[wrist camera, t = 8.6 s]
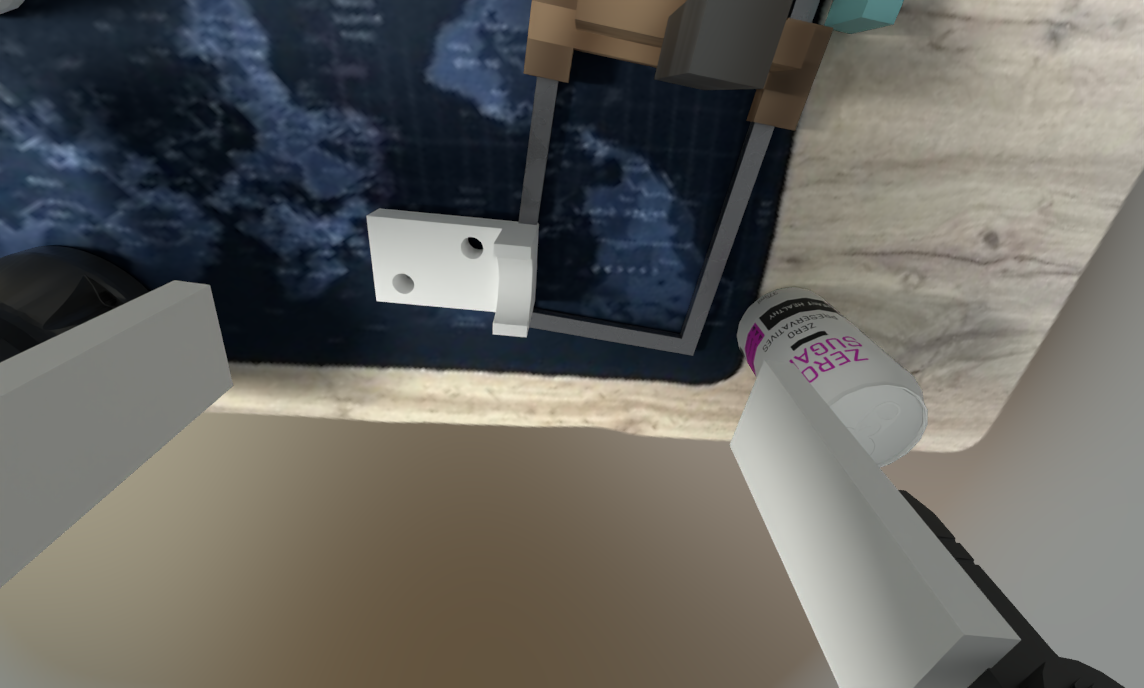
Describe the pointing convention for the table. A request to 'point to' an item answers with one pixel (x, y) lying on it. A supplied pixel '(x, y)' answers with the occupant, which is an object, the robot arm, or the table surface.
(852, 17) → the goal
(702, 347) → the table surface
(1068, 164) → the table surface
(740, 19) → the carriage
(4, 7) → the cup
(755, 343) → the supplement can
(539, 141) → the rails
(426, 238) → the bracket
